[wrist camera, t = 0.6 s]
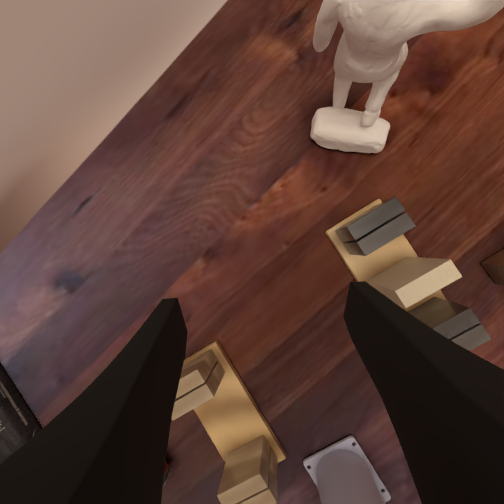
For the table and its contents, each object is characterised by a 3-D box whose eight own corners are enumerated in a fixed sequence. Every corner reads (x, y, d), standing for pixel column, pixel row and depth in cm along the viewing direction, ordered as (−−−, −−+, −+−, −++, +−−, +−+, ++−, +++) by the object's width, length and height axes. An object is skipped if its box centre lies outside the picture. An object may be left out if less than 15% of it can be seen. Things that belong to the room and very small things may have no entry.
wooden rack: (455, 319, 32) (503, 338, 25) (400, 349, 33) (432, 376, 26) (376, 199, 33) (402, 186, 26) (324, 231, 34) (335, 227, 27)
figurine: (399, 125, 33) (777, -264, 8) (360, 177, 33) (594, -30, 8) (324, 77, 34) (448, -405, 9) (288, 128, 34) (308, -186, 9)
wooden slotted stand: (286, 452, 35) (287, 503, 28) (238, 477, 36) (228, 532, 29) (217, 339, 36) (201, 361, 29) (172, 365, 37) (147, 393, 30)
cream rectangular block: (417, 269, 32) (462, 276, 24) (375, 293, 32) (406, 308, 24) (408, 256, 32) (450, 259, 24) (366, 280, 32) (394, 291, 25)
